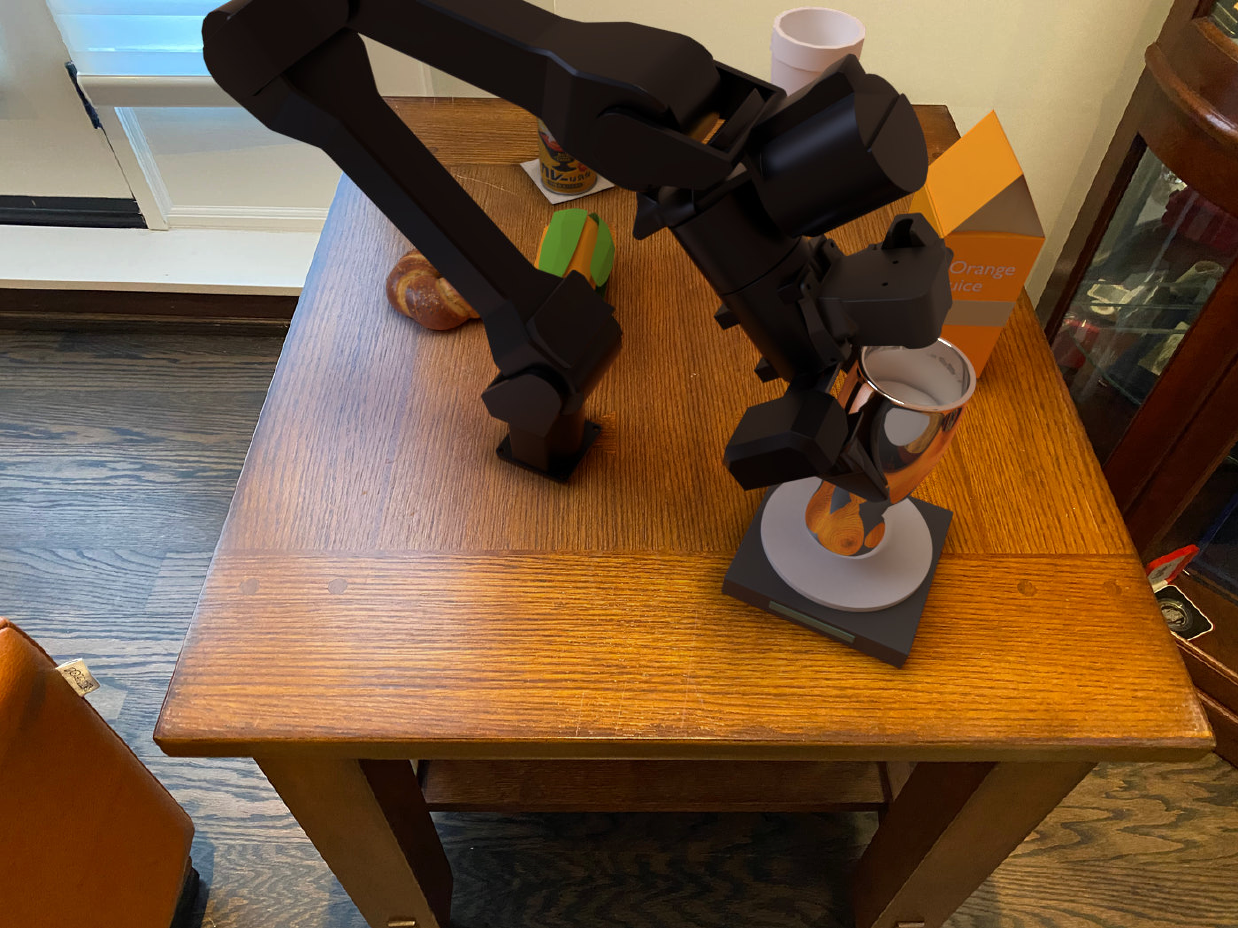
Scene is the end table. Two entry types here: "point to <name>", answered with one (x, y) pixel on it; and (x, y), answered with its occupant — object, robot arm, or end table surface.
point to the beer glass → (891, 438)
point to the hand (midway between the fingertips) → (897, 459)
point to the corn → (577, 247)
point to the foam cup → (811, 44)
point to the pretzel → (425, 294)
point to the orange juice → (981, 234)
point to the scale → (840, 574)
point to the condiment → (561, 171)
